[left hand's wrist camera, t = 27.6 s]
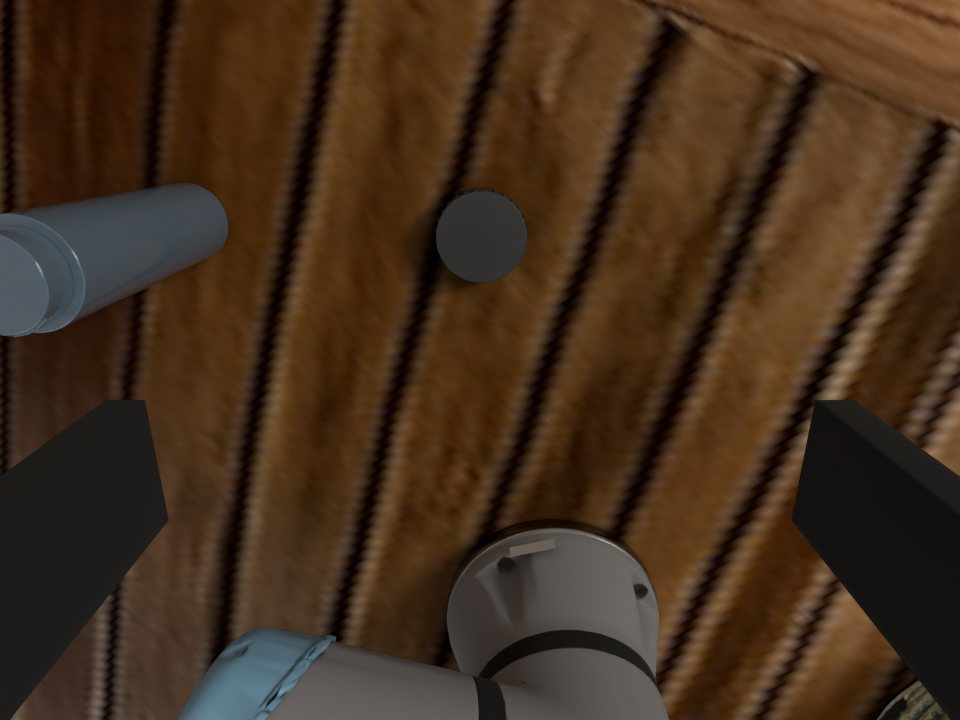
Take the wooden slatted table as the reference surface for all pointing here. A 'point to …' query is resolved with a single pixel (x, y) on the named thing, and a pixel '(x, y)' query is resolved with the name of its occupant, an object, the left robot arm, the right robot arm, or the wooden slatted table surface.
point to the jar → (100, 252)
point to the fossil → (913, 706)
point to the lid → (481, 235)
